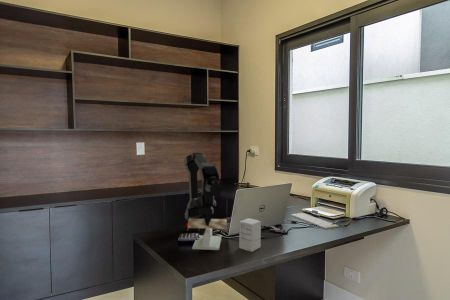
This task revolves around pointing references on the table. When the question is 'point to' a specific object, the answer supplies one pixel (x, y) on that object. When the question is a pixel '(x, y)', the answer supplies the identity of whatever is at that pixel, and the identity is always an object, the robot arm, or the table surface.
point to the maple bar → (213, 223)
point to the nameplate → (277, 230)
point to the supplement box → (250, 234)
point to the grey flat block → (314, 221)
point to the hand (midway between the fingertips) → (207, 224)
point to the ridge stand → (207, 241)
